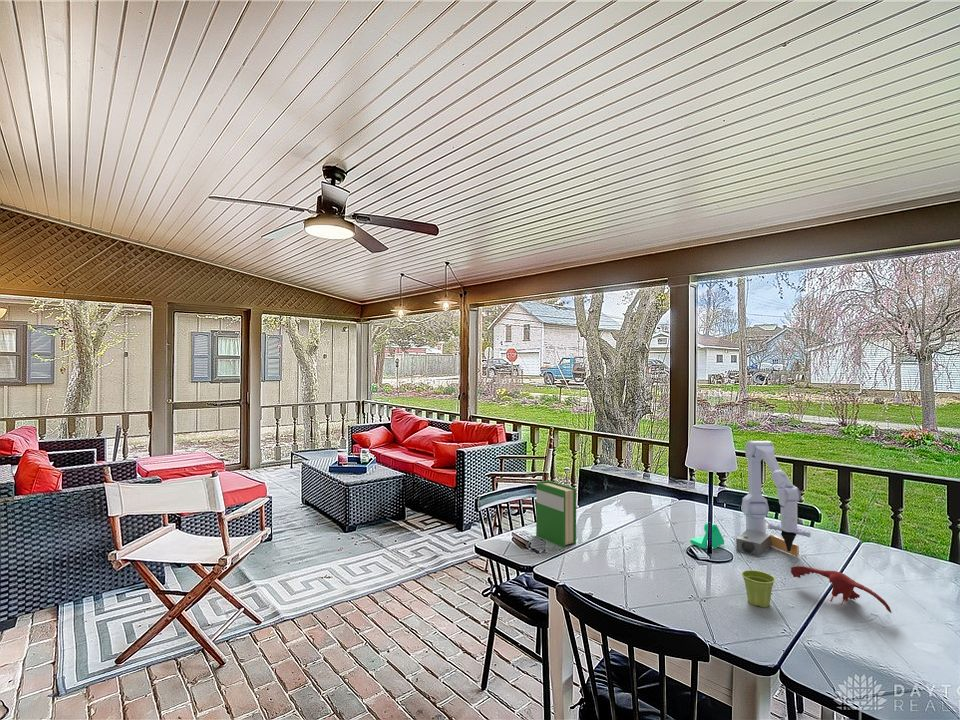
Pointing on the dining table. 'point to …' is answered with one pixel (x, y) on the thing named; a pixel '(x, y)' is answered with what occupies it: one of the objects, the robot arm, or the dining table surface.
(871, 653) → the dining table surface
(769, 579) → the plant pot
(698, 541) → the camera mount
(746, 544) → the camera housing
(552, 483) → the hardback book
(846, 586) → the red toy dinosaur
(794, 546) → the tan piece
